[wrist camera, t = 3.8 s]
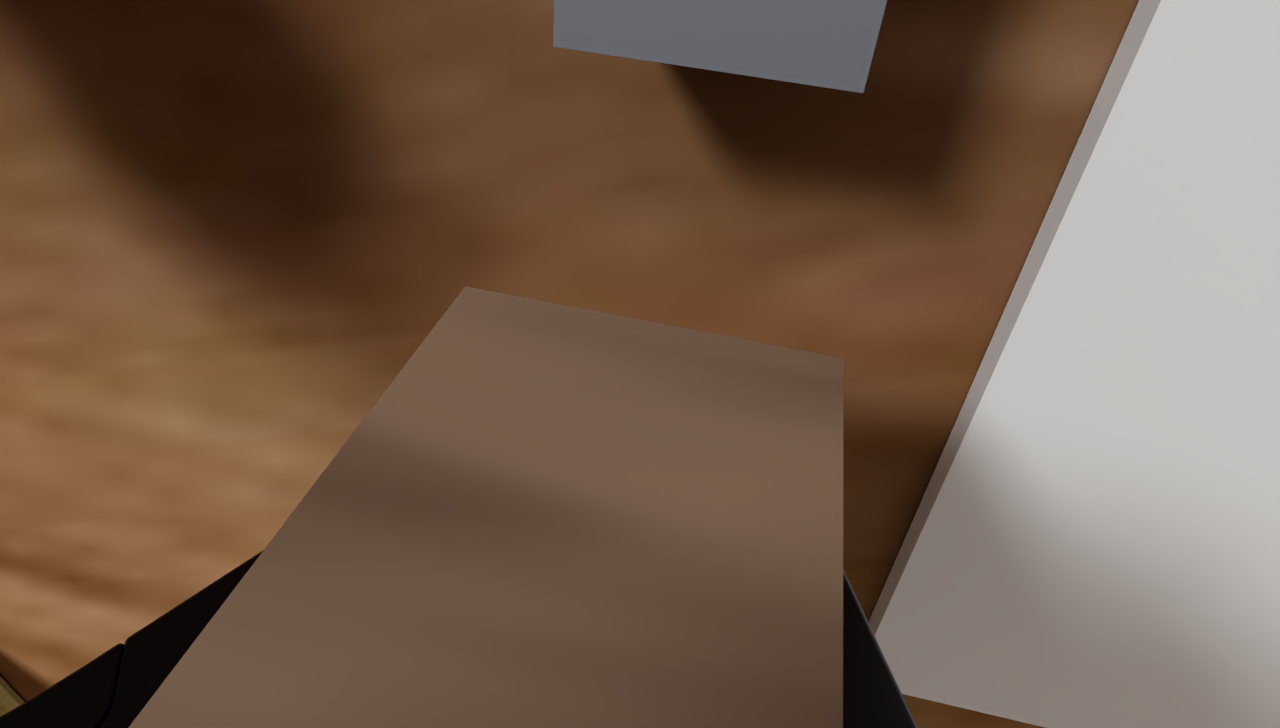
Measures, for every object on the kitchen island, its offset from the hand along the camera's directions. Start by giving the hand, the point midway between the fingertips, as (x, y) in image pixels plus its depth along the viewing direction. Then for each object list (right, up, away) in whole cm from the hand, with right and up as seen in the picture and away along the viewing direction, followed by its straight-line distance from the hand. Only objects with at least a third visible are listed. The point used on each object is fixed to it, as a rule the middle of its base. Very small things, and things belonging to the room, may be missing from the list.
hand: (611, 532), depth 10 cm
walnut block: (0, +1, +1) cm, 1 cm away
